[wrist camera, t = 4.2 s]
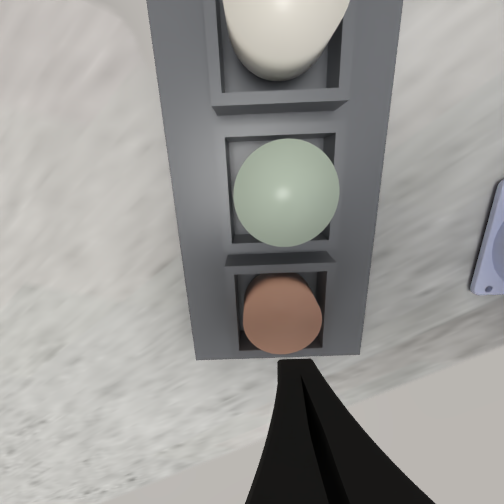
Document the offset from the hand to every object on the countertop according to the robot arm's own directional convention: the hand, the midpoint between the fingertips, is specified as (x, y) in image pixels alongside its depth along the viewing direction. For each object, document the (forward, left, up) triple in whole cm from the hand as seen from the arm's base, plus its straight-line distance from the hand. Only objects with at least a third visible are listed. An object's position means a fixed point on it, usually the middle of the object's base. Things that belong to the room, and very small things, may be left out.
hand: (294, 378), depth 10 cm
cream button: (0, -14, -5) cm, 15 cm away
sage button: (0, -7, -5) cm, 9 cm away
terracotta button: (0, 0, -6) cm, 6 cm away
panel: (0, -7, -8) cm, 11 cm away
